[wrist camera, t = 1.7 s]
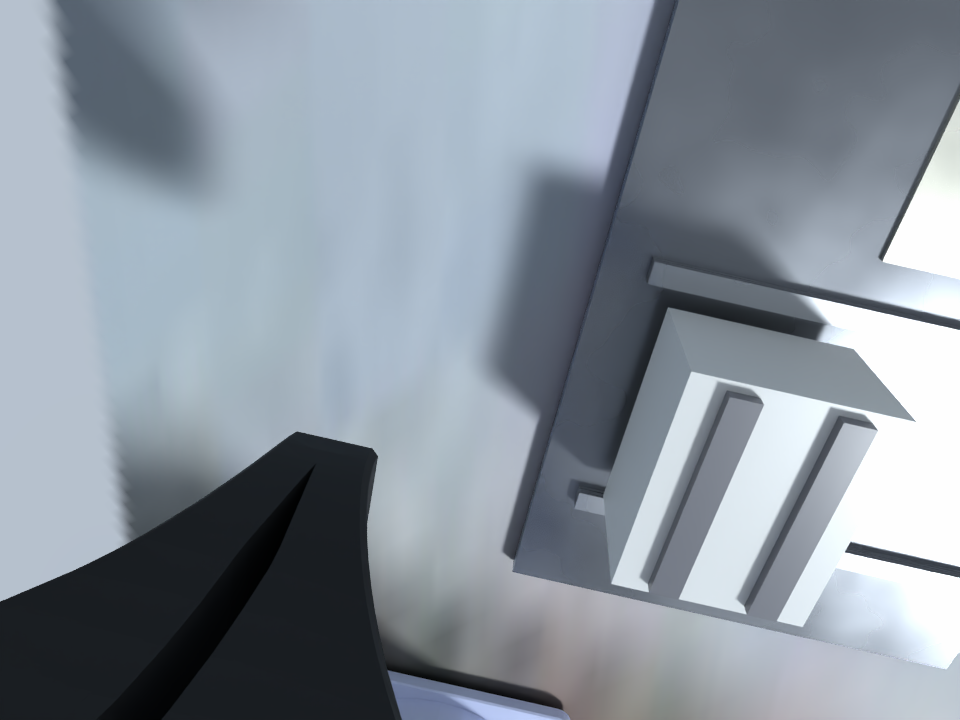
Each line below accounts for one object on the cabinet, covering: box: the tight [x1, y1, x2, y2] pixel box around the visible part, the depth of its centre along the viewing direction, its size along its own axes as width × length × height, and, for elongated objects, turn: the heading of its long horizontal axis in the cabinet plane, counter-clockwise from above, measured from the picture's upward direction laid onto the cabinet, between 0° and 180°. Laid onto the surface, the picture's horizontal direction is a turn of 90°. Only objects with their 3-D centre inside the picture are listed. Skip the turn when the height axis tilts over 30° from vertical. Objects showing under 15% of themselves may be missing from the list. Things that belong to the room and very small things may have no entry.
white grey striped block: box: [603, 307, 917, 627], centre depth 15 cm, size 5×4×3 cm
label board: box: [513, 0, 960, 669], centre depth 16 cm, size 16×12×1 cm
